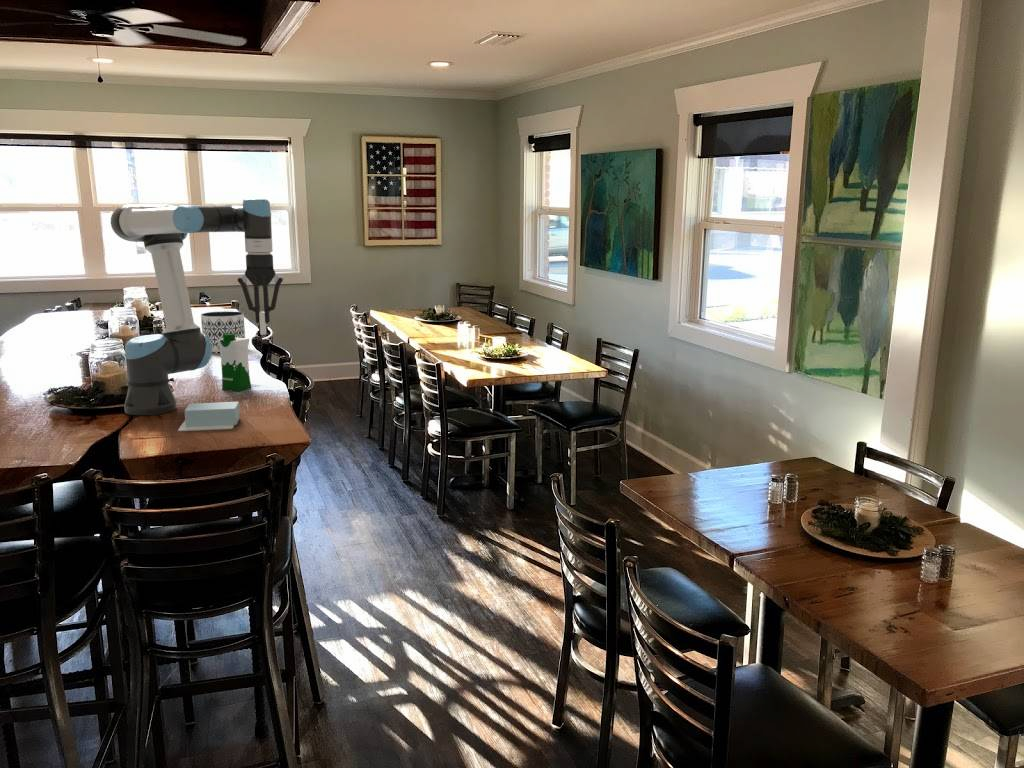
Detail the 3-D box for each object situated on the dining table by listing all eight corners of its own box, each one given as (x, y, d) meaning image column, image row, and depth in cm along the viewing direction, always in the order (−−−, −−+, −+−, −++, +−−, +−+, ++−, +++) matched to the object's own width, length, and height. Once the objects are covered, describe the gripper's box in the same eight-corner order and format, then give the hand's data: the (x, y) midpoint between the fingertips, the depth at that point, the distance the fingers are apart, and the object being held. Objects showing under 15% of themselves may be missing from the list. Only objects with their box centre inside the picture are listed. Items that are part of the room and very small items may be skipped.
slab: (236, 425, 237) (185, 427, 234) (239, 417, 246) (191, 419, 243) (235, 408, 236) (184, 410, 233) (238, 401, 245) (189, 403, 242)
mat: (177, 431, 231) (177, 429, 231) (186, 419, 245) (186, 417, 245) (232, 428, 235) (232, 427, 234) (238, 416, 248) (238, 415, 248)
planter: (237, 353, 356) (235, 316, 353) (197, 353, 356) (194, 316, 353) (251, 346, 374) (249, 311, 370) (212, 346, 374) (209, 311, 371)
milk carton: (218, 390, 284) (214, 334, 280) (236, 385, 292) (233, 330, 288) (237, 392, 280) (233, 336, 276) (255, 387, 288) (252, 332, 284)
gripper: (234, 254, 228) (238, 336, 234) (281, 254, 231) (285, 335, 236) (237, 252, 236) (241, 332, 241) (283, 252, 238) (287, 331, 243)
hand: (263, 333), depth 238 cm, fingers closed
